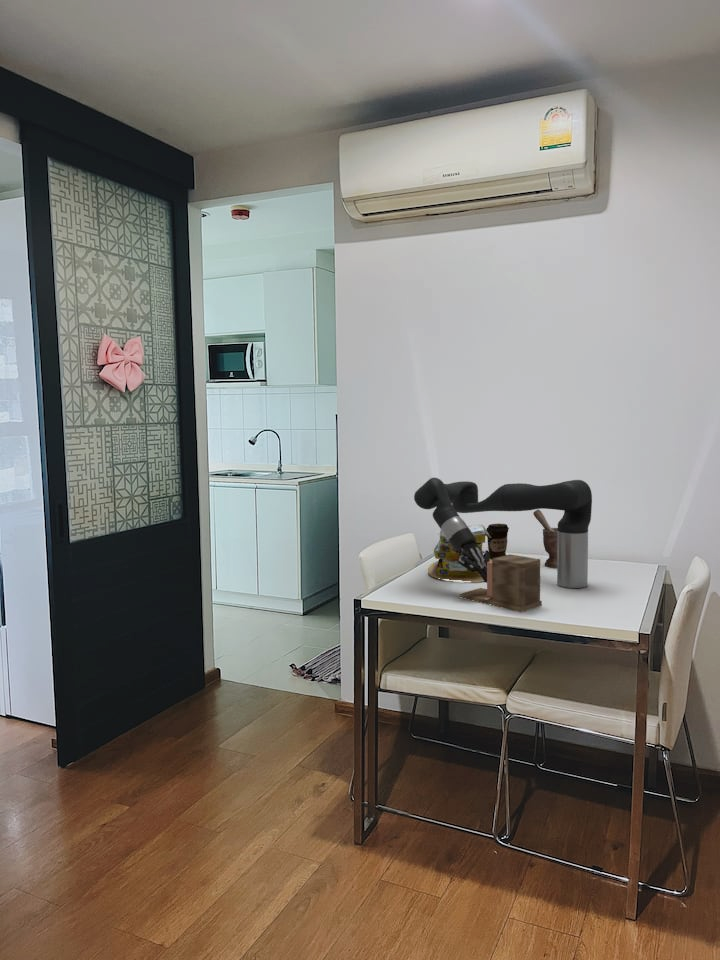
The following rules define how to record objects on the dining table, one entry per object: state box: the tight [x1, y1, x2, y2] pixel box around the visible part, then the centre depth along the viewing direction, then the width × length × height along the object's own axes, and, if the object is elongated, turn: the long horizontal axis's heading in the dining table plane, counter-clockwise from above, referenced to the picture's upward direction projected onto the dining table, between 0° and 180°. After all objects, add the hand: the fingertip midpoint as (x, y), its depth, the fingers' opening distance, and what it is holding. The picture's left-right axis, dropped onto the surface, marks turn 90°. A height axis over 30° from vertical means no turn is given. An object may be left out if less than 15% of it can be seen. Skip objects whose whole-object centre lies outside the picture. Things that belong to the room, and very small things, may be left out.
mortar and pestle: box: [532, 509, 558, 568], centre depth 257 cm, size 12×9×20 cm
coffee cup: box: [485, 523, 510, 560], centre depth 270 cm, size 9×8×13 cm
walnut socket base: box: [459, 553, 543, 613], centre depth 212 cm, size 22×10×13 cm, turn 42°
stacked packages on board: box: [427, 524, 492, 583], centre depth 247 cm, size 25×25×17 cm
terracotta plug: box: [486, 561, 492, 597], centre depth 212 cm, size 5×5×10 cm
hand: (489, 580), depth 215 cm, fingers closed
